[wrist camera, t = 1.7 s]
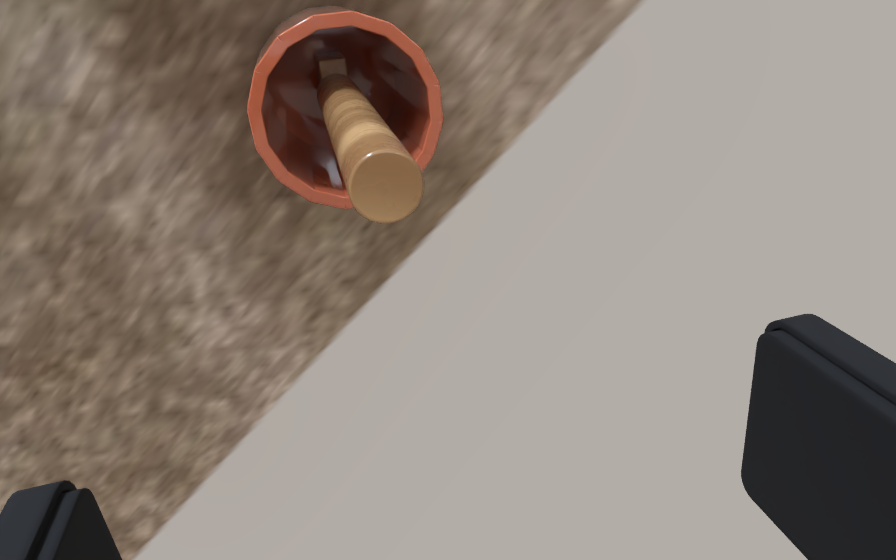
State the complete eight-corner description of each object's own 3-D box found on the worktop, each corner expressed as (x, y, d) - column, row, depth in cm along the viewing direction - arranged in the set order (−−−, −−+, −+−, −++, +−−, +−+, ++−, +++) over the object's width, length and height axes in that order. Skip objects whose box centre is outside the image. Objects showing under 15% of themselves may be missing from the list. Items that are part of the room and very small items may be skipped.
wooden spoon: (308, 55, 30) (337, 128, 14) (346, 50, 30) (417, 117, 15) (319, 119, 31) (358, 253, 16) (356, 114, 32) (431, 240, 16)
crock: (392, -2, 31) (432, 1, 23) (410, 144, 34) (450, 192, 26) (241, 15, 29) (227, 24, 21) (274, 164, 32) (271, 222, 24)
